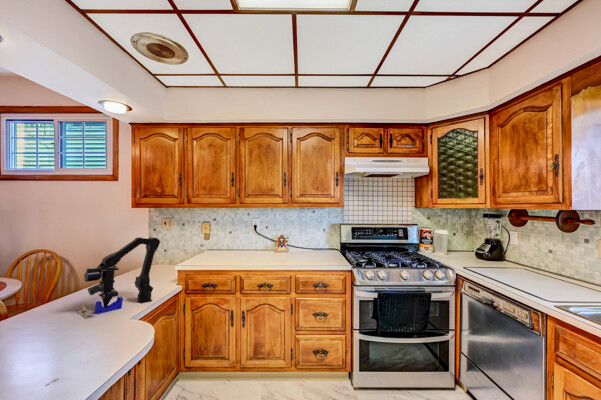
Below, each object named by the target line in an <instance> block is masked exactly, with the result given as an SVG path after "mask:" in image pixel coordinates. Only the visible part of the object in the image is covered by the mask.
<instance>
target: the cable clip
mask: <svg viewBox="0 0 601 400" xmlns="http://www.w3.org/2000/svg"><path fill="white" fill-rule="evenodd" d="M123 300H124V298H123V297H122V296H117V299H116V300H115V301H113V302H112V303H109V304H108V305H107V306H106V307H104V306H103V305H102V304H103V302H102V301H100V300H97V301H95V305H94V313H93V314H94V315H95V314H96V315H101V314H104V313H108V312H113V311H117V310H121V309H122V308H123V307H122V306H123V302H124V301H123Z"/></svg>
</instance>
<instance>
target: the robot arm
mask: <svg viewBox="0 0 601 400" xmlns="http://www.w3.org/2000/svg"><path fill="white" fill-rule="evenodd" d="M160 243H161V240H160V238H157V237H148V238H144V237H135V238H134V239H133V240H132V241H130V242H129V243H127V244H126V245H125V246H122V248H120V249H119V250H118V251H115V252H113V253H110V254H108V255H106V256H104V257H103V258H102V260H101V262H100V263H99V264H98V266H97V267H96V268H95V267H92V268H86V270H85V273H84V274H83V275H84V277H83V279H84V280H83V281H84V282H86V283H87V282H95V281H99V280H100V281H99V282H98V284H96V285H93V286H90V287H88V288H87V292H88V295H90V296H94V295H95V294H97V293H99V294H98V296H99V297H100V298H101V300H102V301H101V302H102V304H103V305H102V306H103V307H106V306H108V305H110V303H111V300H112V299H113V298H116V297H119V291H117V290H115V287H114V283H116V281H115V271H119V270H120V268H118V267H117V266H116V265H118V263H119V262H120V261H121V260H122V259H123V258H124V257H125V256H126V255H127V254H129V253H131V252H132V251H133V250H135V249H136V248H137V247H139V246H140V245H145V250H146V252H145V255H144V259H143V263H142V267H141V270H140V271H141V272H140V274H139V276H135V281H134V286H135V288H137V291H138V294H137V298H136V301H137V302H138V303H140V304H145V303H148V302H152V301H153V300H152V292H153V290H154V287H153V286H151V285H150V284H151V282H150V281H151V278H150V272H151V268H152V264H153V259H154V256H155V252H156V251H157V250H158V248H159V246H160Z"/></svg>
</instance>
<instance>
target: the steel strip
mask: <svg viewBox="0 0 601 400" xmlns="http://www.w3.org/2000/svg"><path fill="white" fill-rule="evenodd" d="M76 312H77V313H78V314H79V315H80V316H81V317H82V318H83V319H84V320H87V319H91V318H95V317H96V315H95V314H94V313H92V312H90V310H89V309H87V306H86V305H83V306H82V309H81V310H77V311H76Z"/></svg>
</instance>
